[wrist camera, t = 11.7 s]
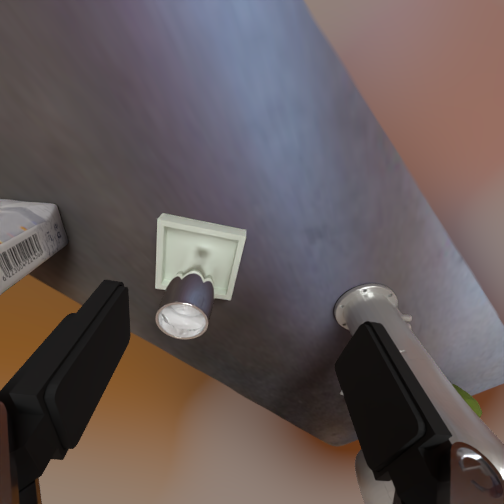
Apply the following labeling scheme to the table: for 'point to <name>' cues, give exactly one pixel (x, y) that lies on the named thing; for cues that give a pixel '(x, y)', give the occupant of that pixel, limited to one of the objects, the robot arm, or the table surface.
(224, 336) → the table surface
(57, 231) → the juice carton
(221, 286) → the sage tray
